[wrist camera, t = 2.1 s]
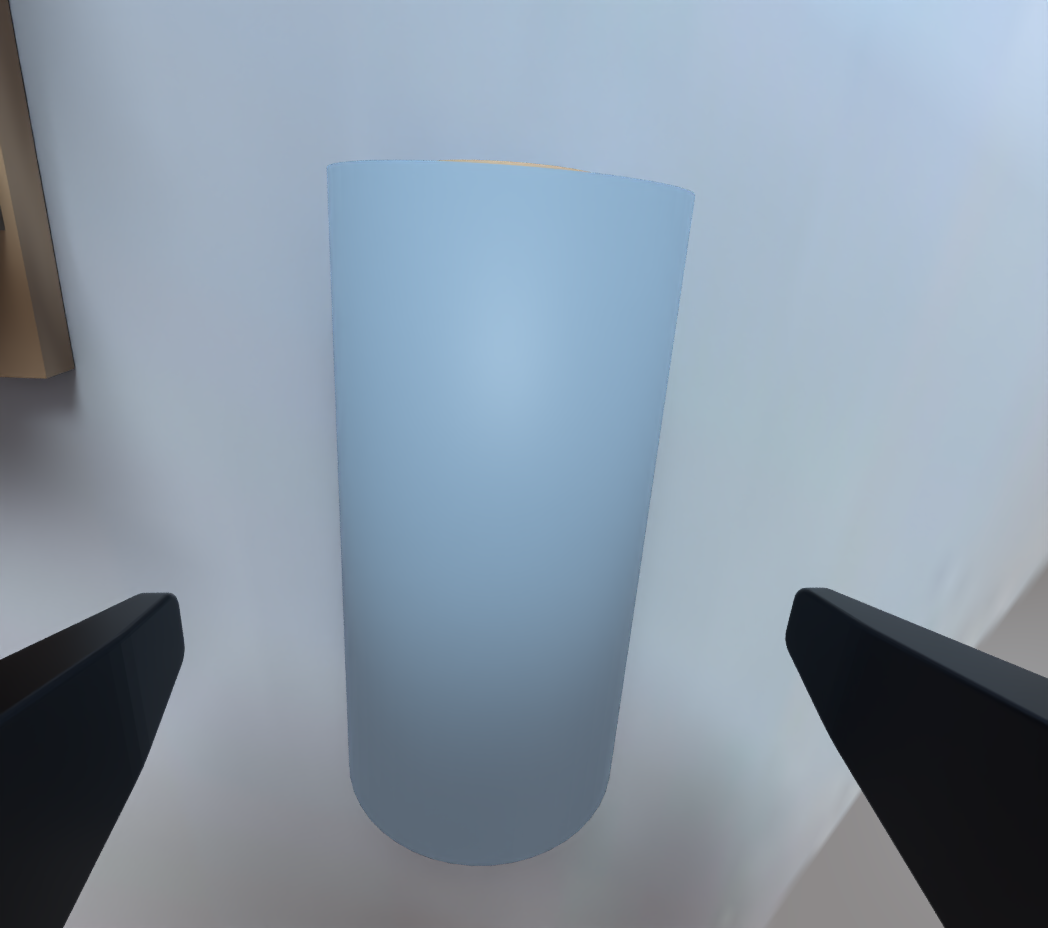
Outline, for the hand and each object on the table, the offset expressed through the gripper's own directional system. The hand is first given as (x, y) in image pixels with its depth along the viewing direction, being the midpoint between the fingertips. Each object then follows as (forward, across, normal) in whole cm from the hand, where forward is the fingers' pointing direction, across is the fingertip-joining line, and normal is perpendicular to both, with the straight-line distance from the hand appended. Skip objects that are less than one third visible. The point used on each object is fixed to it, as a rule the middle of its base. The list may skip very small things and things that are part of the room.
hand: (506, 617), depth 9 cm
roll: (+4, 0, 0) cm, 4 cm away
